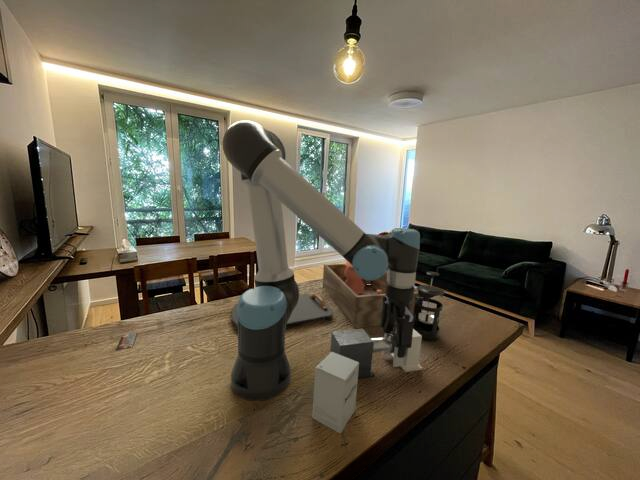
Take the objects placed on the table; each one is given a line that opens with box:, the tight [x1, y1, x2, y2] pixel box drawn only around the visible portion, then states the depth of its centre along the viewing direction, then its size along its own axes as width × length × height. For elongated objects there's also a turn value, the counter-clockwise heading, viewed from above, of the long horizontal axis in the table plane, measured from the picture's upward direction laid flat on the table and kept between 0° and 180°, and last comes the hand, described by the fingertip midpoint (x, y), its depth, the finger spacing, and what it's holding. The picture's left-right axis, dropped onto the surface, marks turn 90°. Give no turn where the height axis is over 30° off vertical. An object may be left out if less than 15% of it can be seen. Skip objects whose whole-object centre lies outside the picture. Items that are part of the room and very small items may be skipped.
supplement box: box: [311, 351, 359, 434], centre depth 60 cm, size 7×7×13 cm
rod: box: [370, 332, 407, 354], centre depth 79 cm, size 16×5×5 cm, turn 105°
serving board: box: [230, 293, 333, 328], centre depth 107 cm, size 39×23×6 cm, turn 117°
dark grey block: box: [330, 328, 376, 380], centre depth 76 cm, size 11×9×10 cm
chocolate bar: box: [114, 332, 139, 352], centre depth 85 cm, size 11×5×1 cm, turn 25°
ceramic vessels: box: [344, 260, 382, 296], centre depth 120 cm, size 35×21×19 cm, turn 25°
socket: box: [389, 329, 424, 373], centre depth 81 cm, size 6×9×10 cm, turn 16°
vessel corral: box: [322, 263, 422, 329], centre depth 122 cm, size 27×41×12 cm, turn 15°
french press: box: [413, 271, 445, 342], centre depth 96 cm, size 12×9×23 cm
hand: (392, 359), depth 80 cm, fingers closed on rod, 5 cm apart
